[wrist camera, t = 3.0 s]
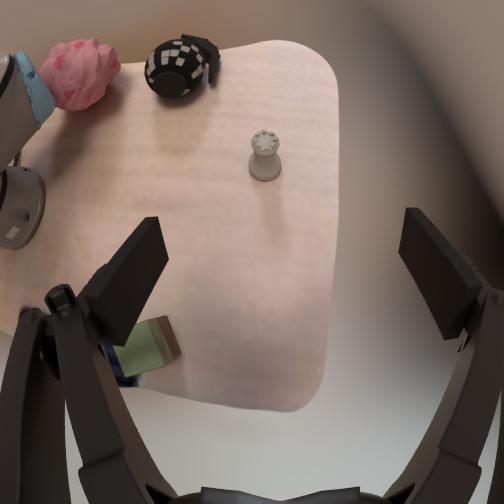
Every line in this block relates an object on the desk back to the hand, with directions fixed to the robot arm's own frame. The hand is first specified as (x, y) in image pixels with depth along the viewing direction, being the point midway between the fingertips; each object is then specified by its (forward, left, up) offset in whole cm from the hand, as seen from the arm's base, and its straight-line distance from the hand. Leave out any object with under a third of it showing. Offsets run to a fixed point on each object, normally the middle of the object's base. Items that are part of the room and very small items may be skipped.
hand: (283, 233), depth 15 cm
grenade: (-28, -3, -17) cm, 33 cm away
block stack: (+4, -18, -23) cm, 29 cm away
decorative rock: (-42, -24, -11) cm, 50 cm away
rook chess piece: (-13, +4, -23) cm, 27 cm away
